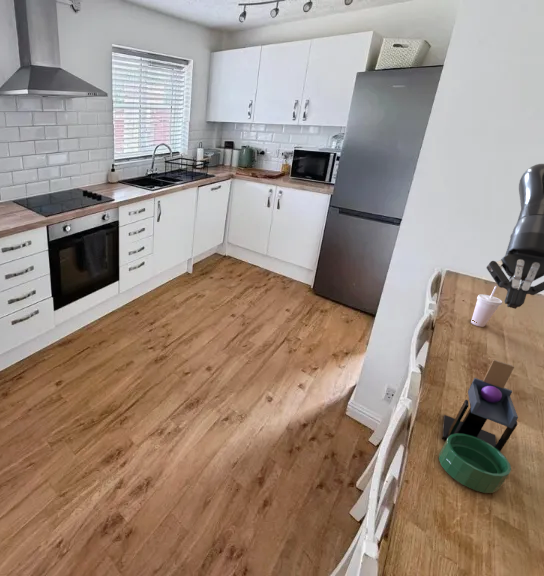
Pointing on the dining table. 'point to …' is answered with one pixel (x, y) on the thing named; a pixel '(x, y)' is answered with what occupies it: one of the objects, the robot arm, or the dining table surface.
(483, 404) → the chute
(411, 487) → the dining table surface
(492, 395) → the ball
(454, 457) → the bowl
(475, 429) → the stand
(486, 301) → the smoothie
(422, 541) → the dining table surface
